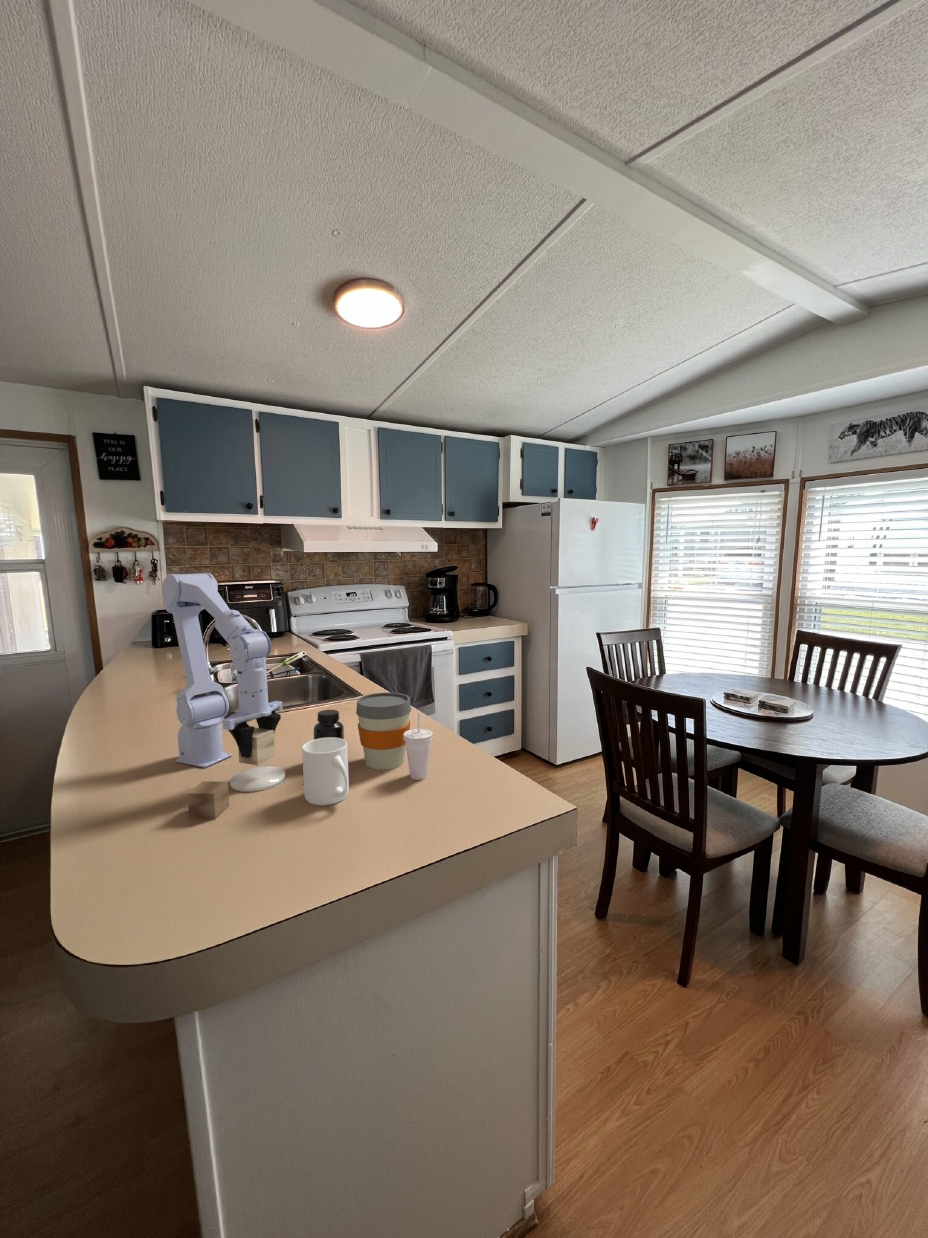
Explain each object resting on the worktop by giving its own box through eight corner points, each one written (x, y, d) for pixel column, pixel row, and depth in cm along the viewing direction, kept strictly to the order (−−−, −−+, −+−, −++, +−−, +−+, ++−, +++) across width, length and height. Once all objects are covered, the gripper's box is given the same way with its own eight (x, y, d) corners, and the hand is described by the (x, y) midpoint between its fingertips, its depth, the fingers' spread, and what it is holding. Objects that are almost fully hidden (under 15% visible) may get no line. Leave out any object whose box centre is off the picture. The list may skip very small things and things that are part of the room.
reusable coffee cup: (401, 748, 128) (399, 689, 126) (420, 766, 117) (419, 702, 115) (351, 757, 122) (349, 696, 120) (366, 777, 111) (364, 710, 109)
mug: (326, 818, 94) (324, 762, 93) (296, 796, 102) (294, 744, 101) (366, 802, 100) (365, 749, 98) (335, 783, 108) (333, 734, 107)
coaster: (218, 786, 107) (217, 783, 107) (258, 766, 117) (258, 763, 117) (258, 796, 103) (258, 792, 103) (296, 774, 113) (296, 771, 113)
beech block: (239, 762, 108) (237, 734, 107) (256, 754, 112) (255, 727, 112) (257, 765, 106) (256, 737, 105) (274, 757, 111) (273, 730, 110)
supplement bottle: (336, 769, 115) (334, 717, 114) (309, 766, 117) (306, 716, 115) (349, 757, 122) (347, 708, 121) (323, 755, 124) (321, 707, 122)
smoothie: (438, 773, 113) (437, 711, 111) (424, 784, 107) (423, 720, 105) (413, 768, 116) (412, 708, 114) (398, 779, 110) (396, 716, 108)
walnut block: (189, 819, 94) (187, 793, 93) (204, 806, 99) (202, 781, 98) (215, 819, 94) (213, 793, 93) (229, 806, 99) (227, 781, 98)
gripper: (239, 700, 99) (244, 767, 101) (292, 683, 112) (295, 743, 114) (213, 697, 102) (217, 762, 104) (267, 680, 115) (270, 738, 117)
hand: (256, 752), depth 109 cm, fingers closed on beech block, 5 cm apart
